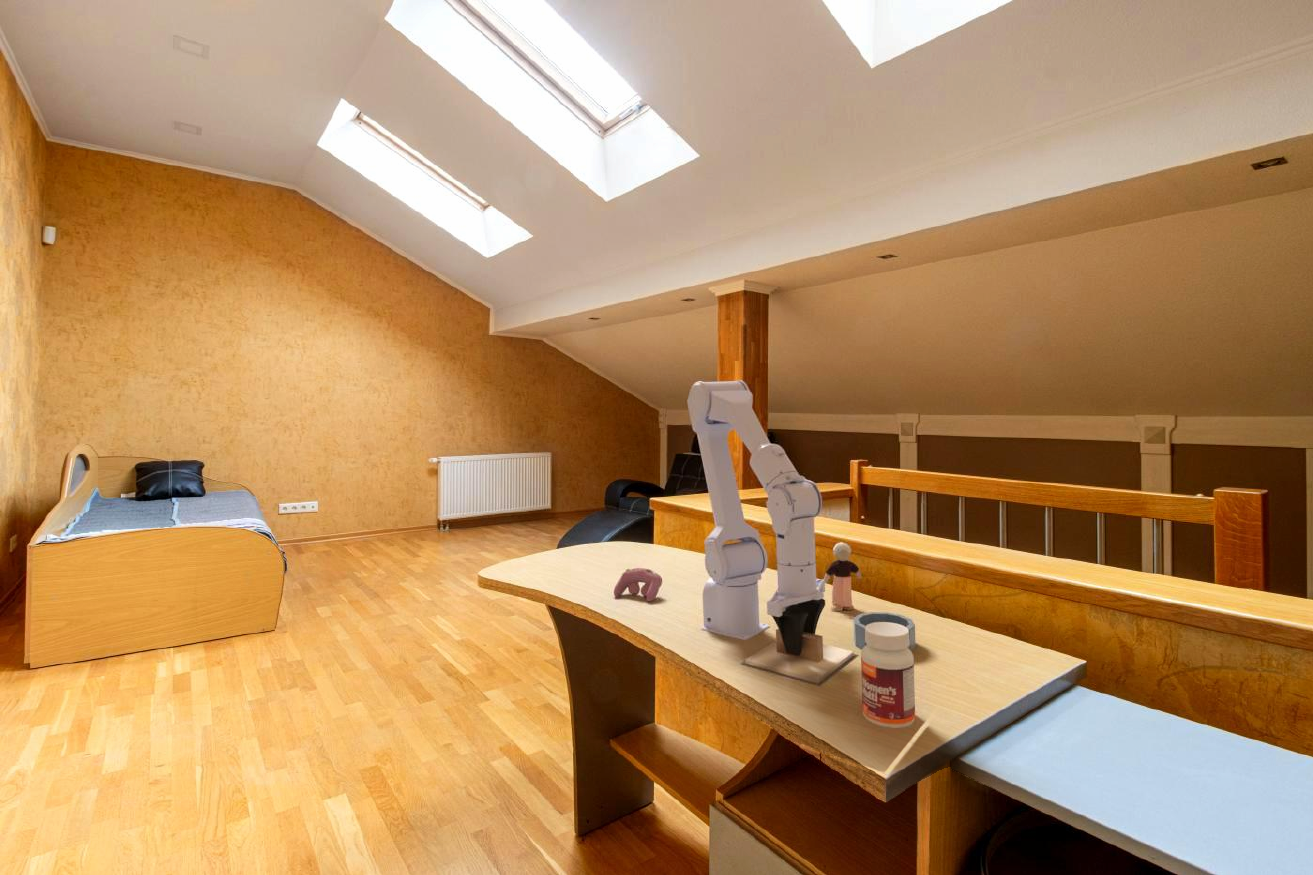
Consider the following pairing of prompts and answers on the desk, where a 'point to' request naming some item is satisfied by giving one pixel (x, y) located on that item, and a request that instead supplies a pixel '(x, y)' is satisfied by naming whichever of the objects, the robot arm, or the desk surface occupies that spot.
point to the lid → (801, 658)
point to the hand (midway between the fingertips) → (799, 649)
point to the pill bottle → (888, 675)
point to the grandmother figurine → (842, 577)
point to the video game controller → (631, 581)
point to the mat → (806, 680)
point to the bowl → (874, 617)
